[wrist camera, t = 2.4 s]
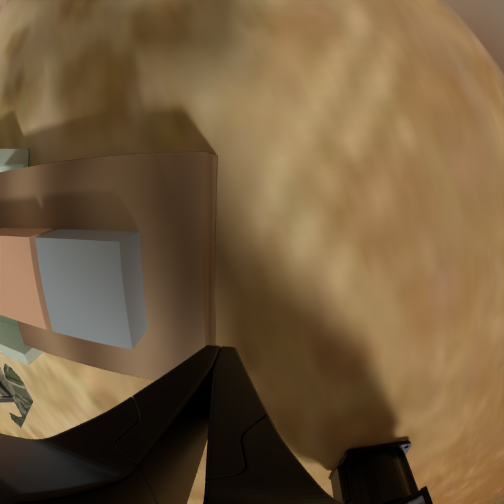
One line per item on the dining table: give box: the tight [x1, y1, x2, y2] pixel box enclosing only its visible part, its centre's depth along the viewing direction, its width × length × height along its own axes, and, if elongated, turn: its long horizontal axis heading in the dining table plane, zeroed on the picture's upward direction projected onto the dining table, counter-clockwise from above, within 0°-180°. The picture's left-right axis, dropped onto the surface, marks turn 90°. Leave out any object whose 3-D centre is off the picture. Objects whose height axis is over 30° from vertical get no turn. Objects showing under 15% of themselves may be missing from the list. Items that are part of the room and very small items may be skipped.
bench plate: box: [0, 152, 218, 381], centre depth 15 cm, size 14×12×3 cm
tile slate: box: [35, 229, 148, 350], centre depth 12 cm, size 5×5×2 cm
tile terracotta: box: [0, 228, 53, 330], centre depth 13 cm, size 5×5×2 cm
